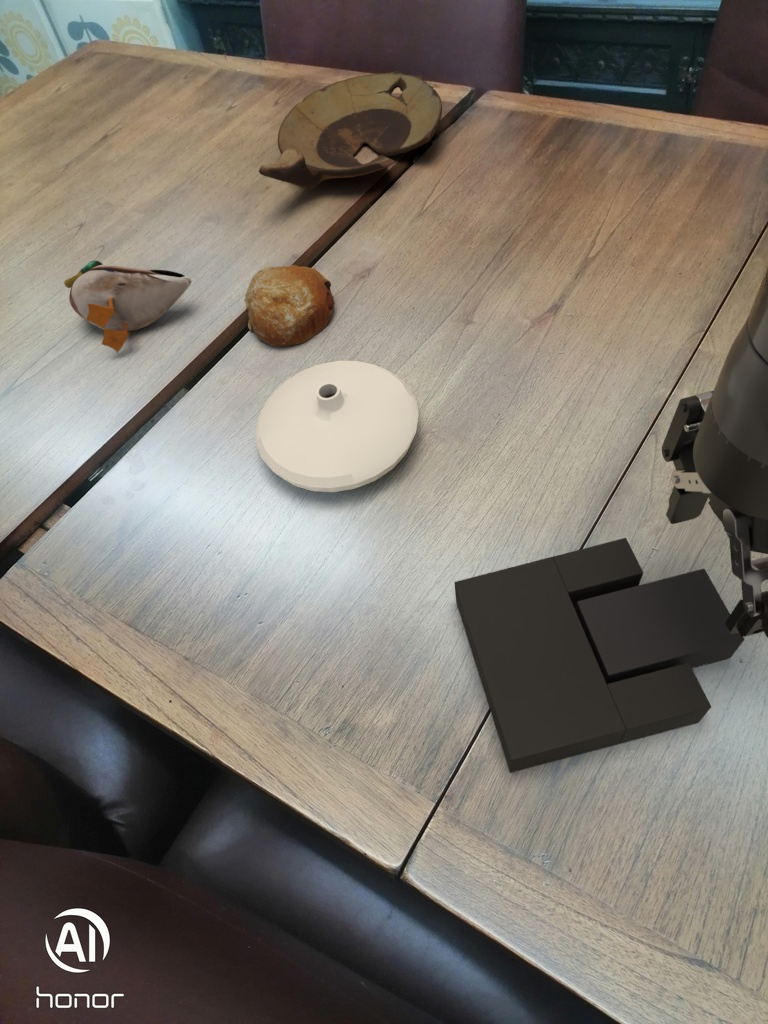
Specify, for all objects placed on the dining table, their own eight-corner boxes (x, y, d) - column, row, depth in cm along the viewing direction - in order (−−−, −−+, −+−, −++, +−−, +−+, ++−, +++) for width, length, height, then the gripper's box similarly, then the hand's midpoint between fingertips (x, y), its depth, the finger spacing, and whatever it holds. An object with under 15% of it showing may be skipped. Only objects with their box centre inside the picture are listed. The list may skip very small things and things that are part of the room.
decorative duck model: (48, 247, 82) (167, 206, 83) (81, 300, 88) (193, 262, 89) (45, 314, 73) (180, 267, 73) (83, 369, 79) (208, 325, 79)
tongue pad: (693, 589, 55) (704, 567, 52) (730, 658, 52) (745, 639, 49) (572, 620, 55) (576, 601, 52) (601, 692, 51) (608, 675, 49)
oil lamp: (481, 147, 94) (480, 88, 88) (291, 241, 88) (276, 184, 81) (391, 92, 106) (385, 35, 99) (218, 170, 99) (200, 116, 93)
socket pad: (619, 559, 57) (626, 537, 54) (699, 722, 49) (712, 707, 46) (455, 601, 57) (454, 581, 54) (509, 772, 49) (511, 760, 46)
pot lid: (319, 365, 75) (305, 313, 69) (449, 410, 69) (446, 358, 63) (232, 471, 68) (207, 424, 62) (367, 531, 62) (355, 485, 56)
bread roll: (259, 329, 84) (214, 292, 78) (318, 268, 83) (278, 225, 76) (293, 376, 79) (248, 341, 73) (357, 312, 77) (317, 270, 71)
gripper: (977, 506, 29) (824, 652, 42) (793, 293, 37) (713, 472, 50) (804, 551, 29) (706, 682, 42) (657, 327, 37) (614, 498, 50)
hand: (710, 568), depth 46 cm, fingers open, 8 cm apart
